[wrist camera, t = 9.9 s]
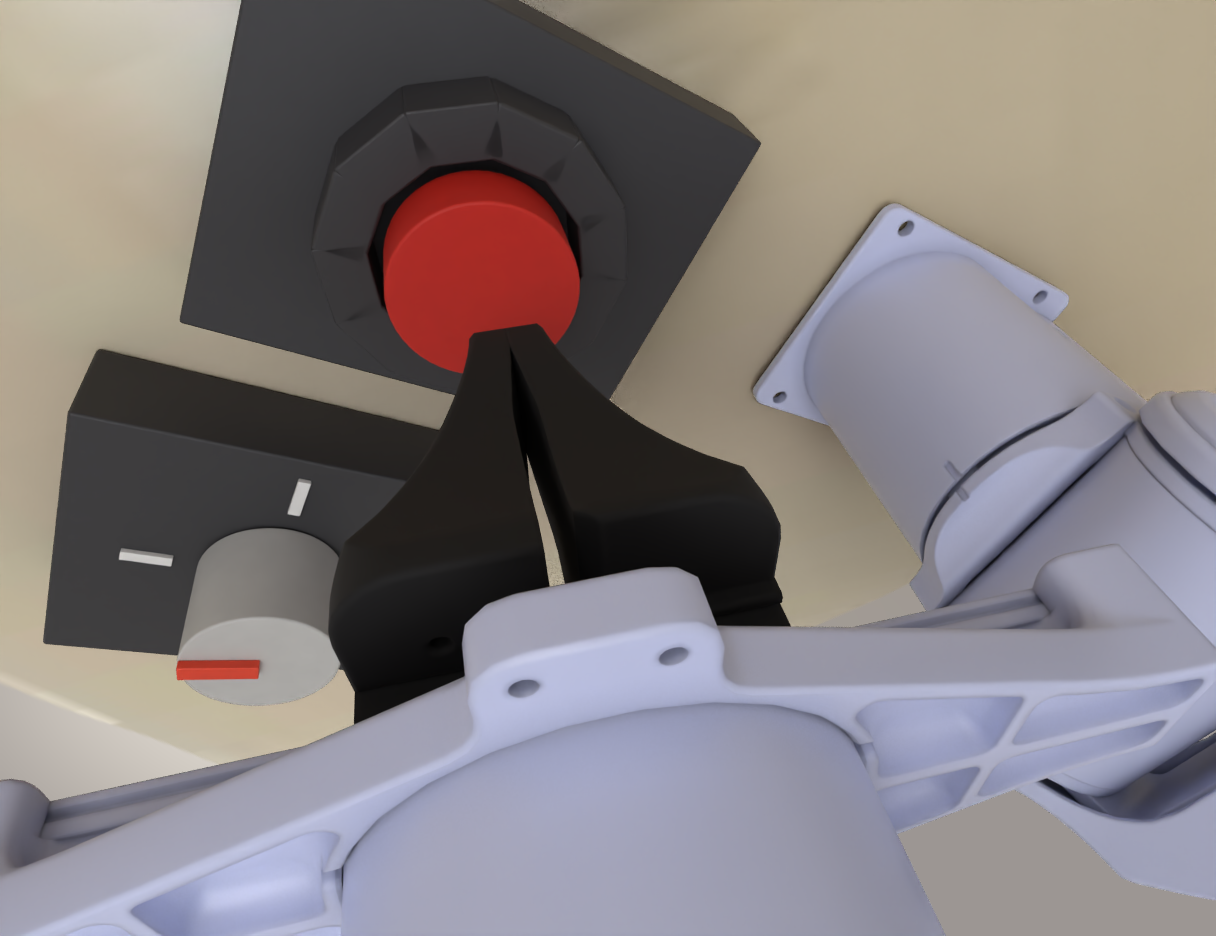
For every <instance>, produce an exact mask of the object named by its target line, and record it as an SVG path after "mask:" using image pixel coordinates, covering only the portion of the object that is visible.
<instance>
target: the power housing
mask: <svg viewBox="0 0 1216 936" xmlns="http://www.w3.org/2000/svg"><path fill="white" fill-rule="evenodd" d="M760 145H761V143H760V141H759V140H758V139H757V138H756V137H755V136H754V135H753V134H752V133H751V132H750V131H749V130H748V129H747V128H746V127H745V126H744V125H743V124H742V123H741V122H740V121H739V120H738V119H737V118H736V117H735V116H734V115H733V114H731V113H729V112H727V111H725V110H724V109H722V108H720V107H718V106H716V105H714V104H712V103H710V102H709V101H707V100H705V99H703V98H701V97H699V96H697V95H695V94H693V93H692V92H690V91H688V90H686V89H684V88H682V87H680V86H678V85H677V84H675V83H673V82H671V81H669V80H667V79H665V78H663V77H662V76H660V75H658V74H656V73H654V72H652V71H650V70H648V69H646V68H645V67H643V66H641V65H639V64H637V63H635V62H633V61H631V60H630V59H628V58H626V57H624V56H622V55H620V54H618V53H616V52H614V51H613V50H611V49H609V48H607V47H605V46H603V45H601V44H599V43H598V42H596V41H594V40H592V39H590V38H588V37H586V36H584V35H582V34H581V33H579V32H577V31H575V30H573V29H571V28H569V27H567V26H566V25H564V24H562V23H560V22H558V21H556V20H554V19H552V18H550V17H549V16H547V15H545V14H543V13H541V12H539V11H537V10H535V9H534V8H532V7H530V6H528V5H526V4H524V3H522V2H520V1H519V0H241V5H240V10H239V15H238V21H237V26H236V31H235V36H234V41H233V46H232V52H231V57H230V62H229V67H228V72H227V77H226V83H225V88H224V93H223V98H222V103H221V108H220V114H219V119H218V124H217V129H216V134H215V139H214V145H213V150H212V155H211V160H210V165H209V170H208V176H207V181H206V186H205V191H204V196H203V201H202V207H201V212H200V217H199V222H198V227H197V232H196V238H195V243H194V248H193V253H192V258H191V263H190V269H189V274H188V279H187V284H186V289H185V294H184V300H183V305H182V310H181V315H180V322H181V323H184V324H188V325H192V326H195V327H199V328H203V329H207V330H211V331H214V332H218V333H222V334H226V335H229V336H233V337H237V338H241V339H245V340H248V341H252V342H256V343H260V344H263V345H267V346H271V347H275V348H279V349H282V350H286V351H290V352H294V353H298V354H301V355H305V356H309V357H313V358H316V359H320V360H324V361H328V362H332V363H335V364H339V365H343V366H347V367H350V368H354V369H358V370H362V371H366V372H369V373H373V374H377V375H381V376H385V377H388V378H392V379H396V380H400V381H403V382H407V383H411V384H415V385H419V386H422V387H426V388H430V389H434V390H438V391H441V392H445V393H449V394H453V395H456V392H457V389H458V386H459V383H460V380H461V377H462V374H463V373H458V372H454V371H450V370H447V369H444V368H441V367H439V366H437V365H435V364H433V363H431V362H429V361H427V360H426V359H424V358H423V357H421V356H420V355H418V354H417V353H416V352H415V351H413V350H412V349H411V348H410V347H409V346H408V345H407V344H406V343H405V342H404V341H403V340H402V338H401V337H400V335H399V334H398V333H397V331H396V330H395V328H394V326H393V324H392V322H391V320H390V318H389V315H388V312H387V309H386V304H385V299H384V272H383V249H384V240H385V236H386V232H387V229H388V226H389V224H390V222H391V219H392V218H393V216H394V214H395V213H396V211H397V209H398V208H399V207H400V205H401V204H402V203H403V202H404V201H405V199H406V198H407V197H409V196H410V195H411V194H412V193H413V192H414V191H415V190H417V189H418V188H420V187H421V186H423V185H424V184H426V183H427V182H430V181H432V180H434V179H436V178H438V177H441V176H444V175H447V174H450V173H455V172H460V171H471V170H480V171H491V172H496V173H501V174H504V175H507V176H510V177H513V178H515V179H517V180H519V181H521V182H523V183H525V184H526V185H528V186H529V187H531V188H532V189H534V190H535V191H536V192H537V193H539V194H540V195H541V196H542V197H543V198H544V199H545V200H546V201H547V202H548V204H549V205H550V206H551V207H552V209H553V210H554V212H555V213H556V215H557V216H558V218H559V220H560V223H561V225H562V227H563V229H564V232H565V234H566V237H567V240H568V242H569V245H570V247H571V250H572V252H573V255H574V257H575V260H576V264H577V267H578V271H579V278H580V294H579V301H578V305H577V308H576V312H575V315H574V317H573V319H572V321H571V324H570V325H569V327H568V329H567V330H566V332H565V333H564V335H563V336H562V337H561V339H560V340H559V341H558V342H557V343H556V344H555V346H556V347H557V348H558V349H559V351H560V352H561V353H562V354H563V355H564V356H565V358H566V359H567V360H568V361H569V362H570V363H571V364H572V365H573V366H574V367H575V368H576V369H577V370H578V371H579V372H580V374H581V375H582V376H583V377H584V378H585V379H586V380H587V381H588V382H590V383H591V384H592V385H593V386H594V387H595V388H596V389H597V390H598V391H599V392H601V393H602V394H603V395H604V396H605V397H606V398H607V399H610V397H611V396H612V394H613V392H614V391H615V389H616V387H617V386H618V384H619V382H620V381H621V379H622V377H623V375H624V374H625V372H626V370H627V369H628V367H629V365H630V364H631V362H632V360H633V359H634V357H635V355H636V354H637V352H638V350H639V349H640V347H641V345H642V344H643V342H644V340H645V339H646V337H647V335H648V333H649V332H650V330H651V328H652V327H653V325H654V323H655V322H656V320H657V318H658V317H659V315H660V313H661V312H662V310H663V308H664V307H665V305H666V303H667V302H668V300H669V298H670V297H671V295H672V293H673V291H674V290H675V288H676V286H677V285H678V283H679V281H680V280H681V278H682V276H683V275H684V273H685V271H686V270H687V268H688V266H689V265H690V263H691V261H692V260H693V258H694V256H695V255H696V253H697V251H698V249H699V248H700V246H701V244H702V243H703V241H704V239H705V238H706V236H707V234H708V233H709V231H710V229H711V228H712V226H713V224H714V223H715V221H716V219H717V218H718V216H719V214H720V213H721V211H722V209H723V207H724V206H725V204H726V202H727V201H728V199H729V197H730V196H731V194H732V192H733V191H734V189H735V187H736V186H737V184H738V182H739V181H740V179H741V177H742V176H743V174H744V172H745V171H746V169H747V167H748V165H749V164H750V162H751V160H752V159H753V157H754V155H755V154H756V152H757V150H758V149H759V147H760Z"/></svg>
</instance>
